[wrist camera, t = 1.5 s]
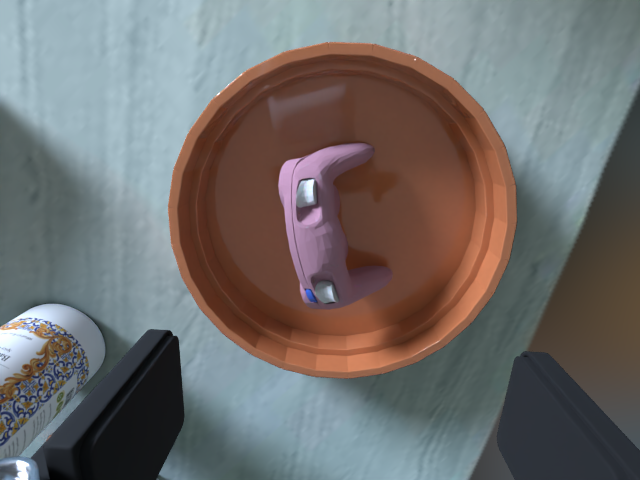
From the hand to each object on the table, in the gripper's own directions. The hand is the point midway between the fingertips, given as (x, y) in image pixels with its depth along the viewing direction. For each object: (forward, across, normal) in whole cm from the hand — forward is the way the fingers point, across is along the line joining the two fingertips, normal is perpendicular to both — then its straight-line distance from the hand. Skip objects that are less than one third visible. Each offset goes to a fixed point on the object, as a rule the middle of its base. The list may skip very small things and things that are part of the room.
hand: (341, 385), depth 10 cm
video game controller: (+16, 0, -1) cm, 16 cm away
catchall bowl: (+16, 0, -1) cm, 16 cm away
